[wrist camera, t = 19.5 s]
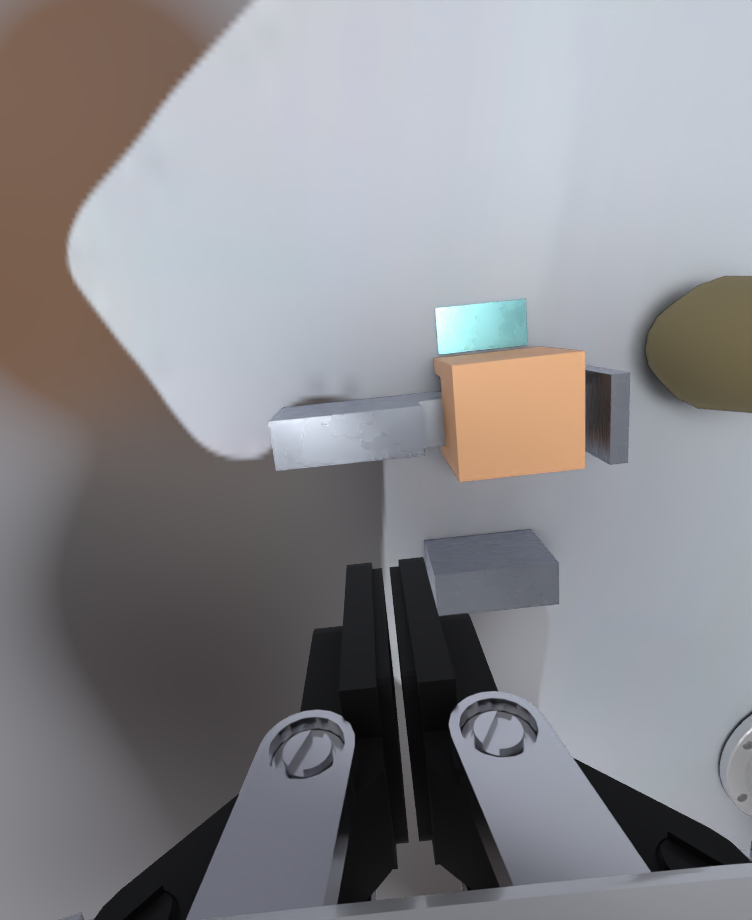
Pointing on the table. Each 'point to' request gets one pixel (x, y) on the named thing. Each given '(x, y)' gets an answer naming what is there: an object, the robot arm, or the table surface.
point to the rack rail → (438, 404)
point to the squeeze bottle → (707, 345)
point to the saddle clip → (513, 412)
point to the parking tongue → (491, 572)
